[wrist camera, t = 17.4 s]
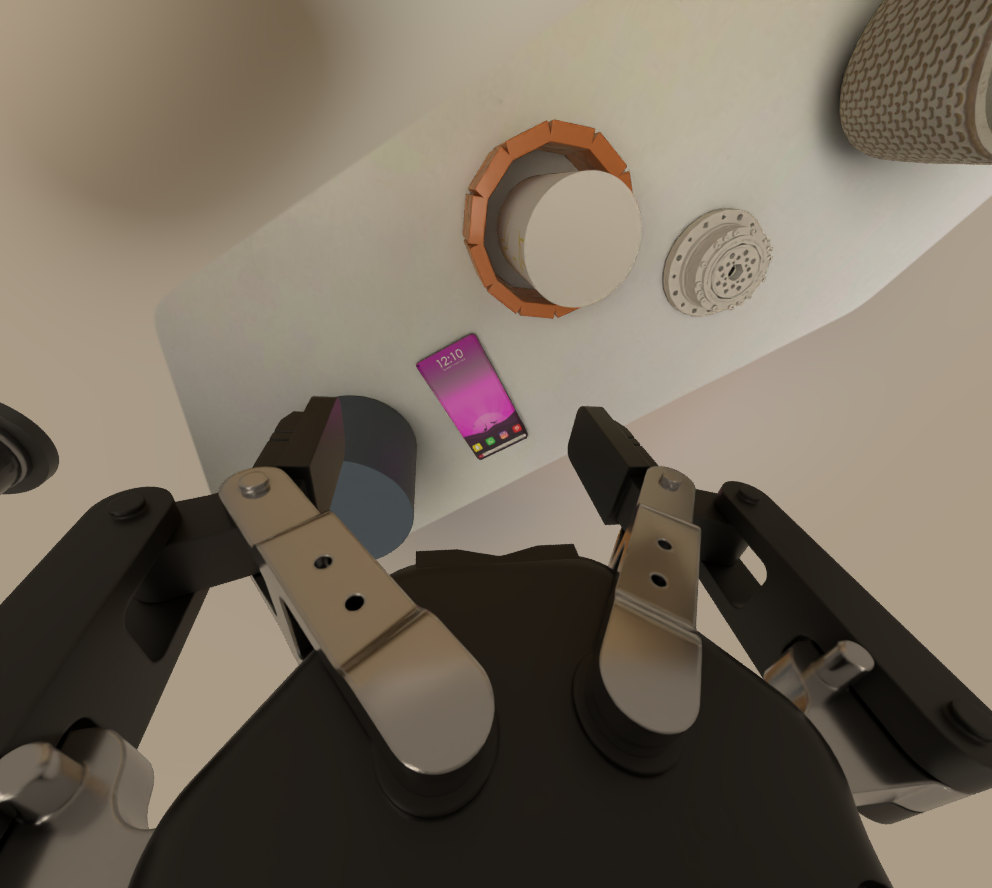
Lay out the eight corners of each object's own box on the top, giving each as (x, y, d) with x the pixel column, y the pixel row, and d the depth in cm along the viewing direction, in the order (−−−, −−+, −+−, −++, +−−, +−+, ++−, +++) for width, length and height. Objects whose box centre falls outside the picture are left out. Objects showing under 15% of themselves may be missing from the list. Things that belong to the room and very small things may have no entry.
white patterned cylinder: (478, 228, 34) (498, 245, 24) (545, 150, 31) (598, 134, 22) (534, 293, 38) (571, 330, 28) (598, 228, 35) (662, 245, 26)
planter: (823, 206, 37) (979, 213, 27) (777, 67, 30) (961, 4, 20) (976, 72, 33) (1236, 17, 22) (961, -126, 26) (1325, -339, 15)
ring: (458, 293, 37) (462, 309, 32) (471, 116, 29) (480, 103, 25) (583, 307, 39) (605, 324, 35) (624, 148, 32) (659, 142, 27)
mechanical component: (649, 250, 37) (676, 330, 43) (672, 257, 34) (698, 343, 39) (745, 184, 35) (760, 277, 40) (781, 184, 31) (792, 286, 37)
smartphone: (477, 457, 49) (478, 461, 48) (414, 362, 40) (414, 366, 39) (527, 432, 48) (529, 436, 47) (473, 331, 39) (474, 333, 38)
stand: (320, 497, 49) (293, 575, 39) (274, 405, 40) (226, 474, 31) (426, 480, 50) (425, 552, 40) (402, 387, 42) (394, 448, 32)
